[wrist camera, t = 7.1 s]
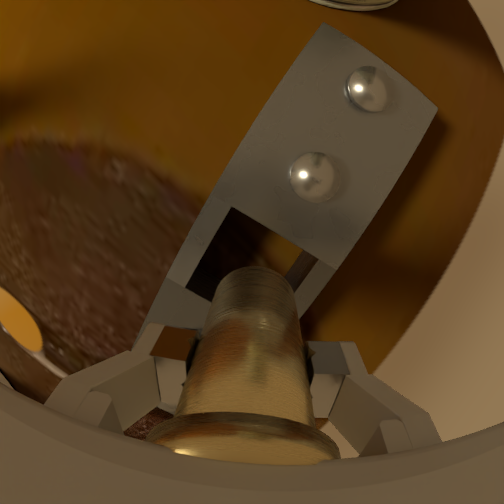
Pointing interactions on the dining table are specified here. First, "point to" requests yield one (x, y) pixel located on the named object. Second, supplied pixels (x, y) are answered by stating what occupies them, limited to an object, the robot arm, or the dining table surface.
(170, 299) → the grey peg board
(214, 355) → the pin
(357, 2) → the coffee can
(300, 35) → the dining table surface
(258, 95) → the dining table surface
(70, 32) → the dining table surface
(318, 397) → the robot arm
